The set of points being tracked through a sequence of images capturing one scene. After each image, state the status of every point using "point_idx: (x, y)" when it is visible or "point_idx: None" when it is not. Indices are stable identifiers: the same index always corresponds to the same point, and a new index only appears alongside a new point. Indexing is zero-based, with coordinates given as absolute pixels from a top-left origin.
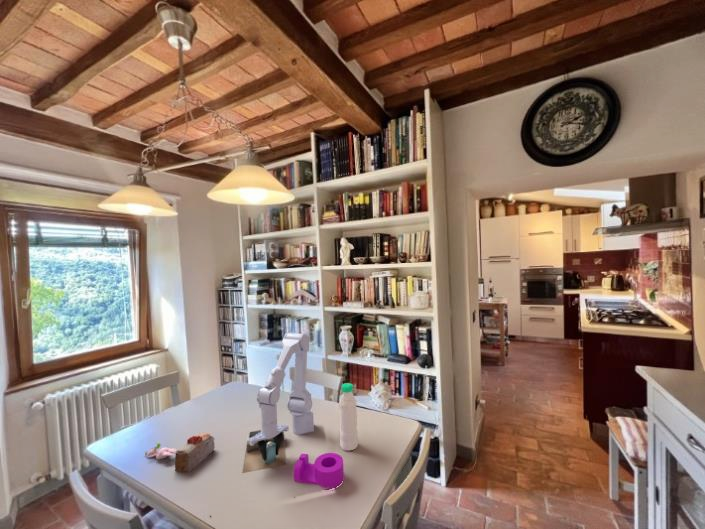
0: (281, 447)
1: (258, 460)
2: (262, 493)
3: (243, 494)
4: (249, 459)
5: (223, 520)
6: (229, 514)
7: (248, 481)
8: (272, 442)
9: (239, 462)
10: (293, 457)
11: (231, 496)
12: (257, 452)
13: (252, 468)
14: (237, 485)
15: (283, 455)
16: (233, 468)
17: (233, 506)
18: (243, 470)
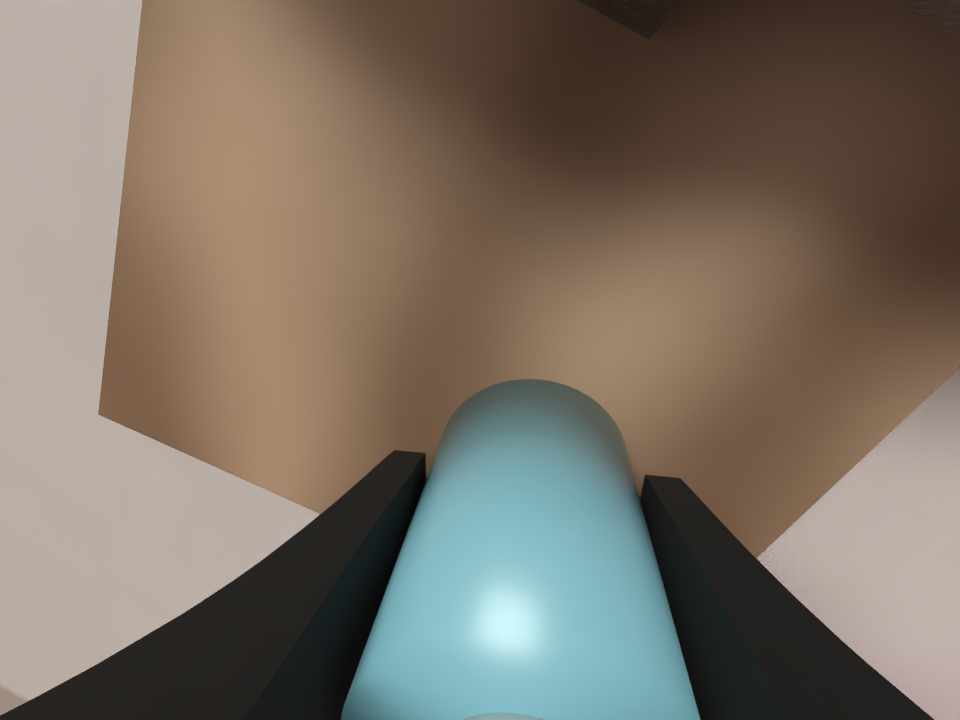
0: (945, 280)
1: (366, 329)
2: None
3: (143, 605)
4: (226, 175)
5: (12, 683)
6: (45, 674)
7: (201, 509)
8: (681, 717)
9: (97, 11)
10: (858, 549)
11: (41, 557)
12: (432, 39)
13: (240, 431)
14: (87, 480)
15: (760, 515)
16: (7, 122)
17: (67, 643)
18: (115, 380)
